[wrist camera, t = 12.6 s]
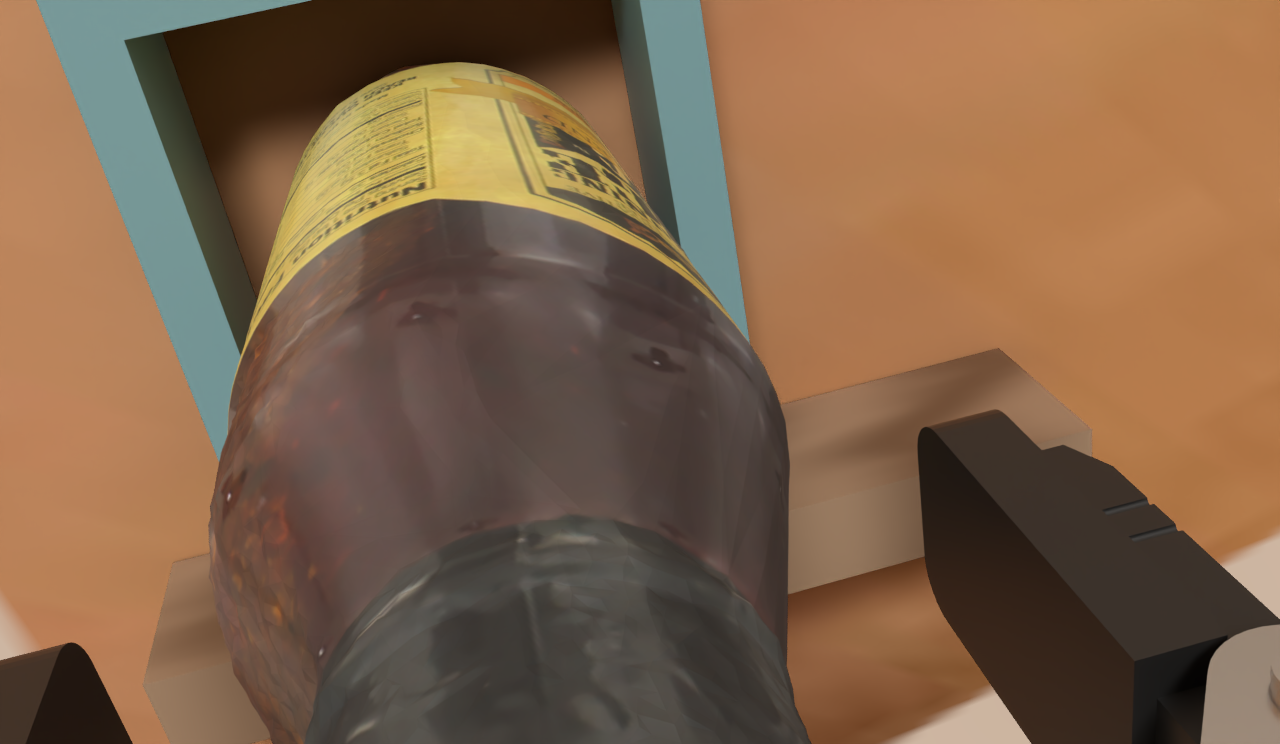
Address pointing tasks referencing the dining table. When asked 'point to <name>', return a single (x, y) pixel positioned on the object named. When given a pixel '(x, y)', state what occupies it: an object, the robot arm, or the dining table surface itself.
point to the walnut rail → (818, 518)
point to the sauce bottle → (496, 447)
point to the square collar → (194, 213)
